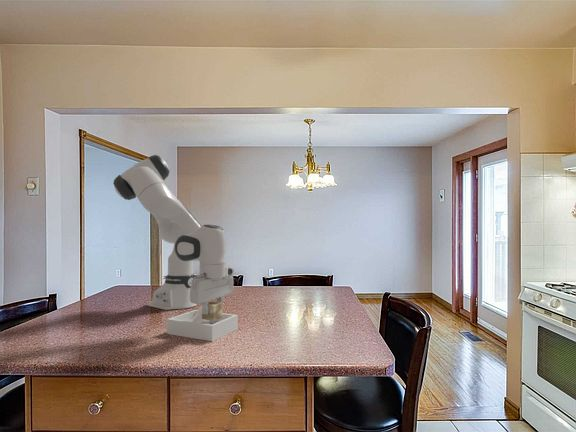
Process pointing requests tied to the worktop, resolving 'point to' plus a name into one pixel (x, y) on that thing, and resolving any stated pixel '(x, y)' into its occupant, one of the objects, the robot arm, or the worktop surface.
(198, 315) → the lightbulb
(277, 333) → the worktop surface
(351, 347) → the worktop surface
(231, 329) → the tote
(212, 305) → the maple cube
